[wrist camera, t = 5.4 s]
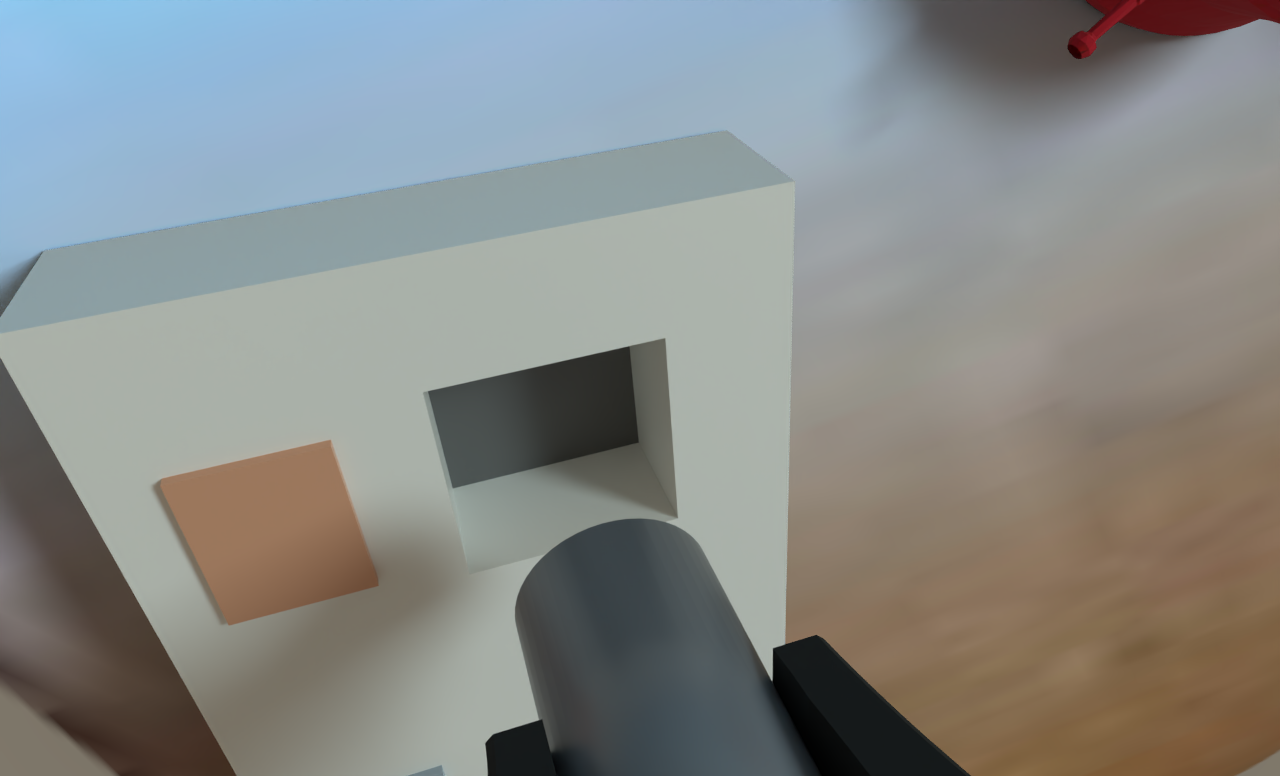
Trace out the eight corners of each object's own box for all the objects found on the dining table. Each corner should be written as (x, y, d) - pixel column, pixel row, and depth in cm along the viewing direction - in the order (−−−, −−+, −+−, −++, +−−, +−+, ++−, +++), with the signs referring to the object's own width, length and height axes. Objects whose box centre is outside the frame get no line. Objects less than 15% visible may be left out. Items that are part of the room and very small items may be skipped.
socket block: (739, 715, 27) (784, 809, 24) (337, 844, 24) (339, 965, 22) (727, 130, 17) (800, 185, 14) (44, 250, 14) (-17, 342, 12)
